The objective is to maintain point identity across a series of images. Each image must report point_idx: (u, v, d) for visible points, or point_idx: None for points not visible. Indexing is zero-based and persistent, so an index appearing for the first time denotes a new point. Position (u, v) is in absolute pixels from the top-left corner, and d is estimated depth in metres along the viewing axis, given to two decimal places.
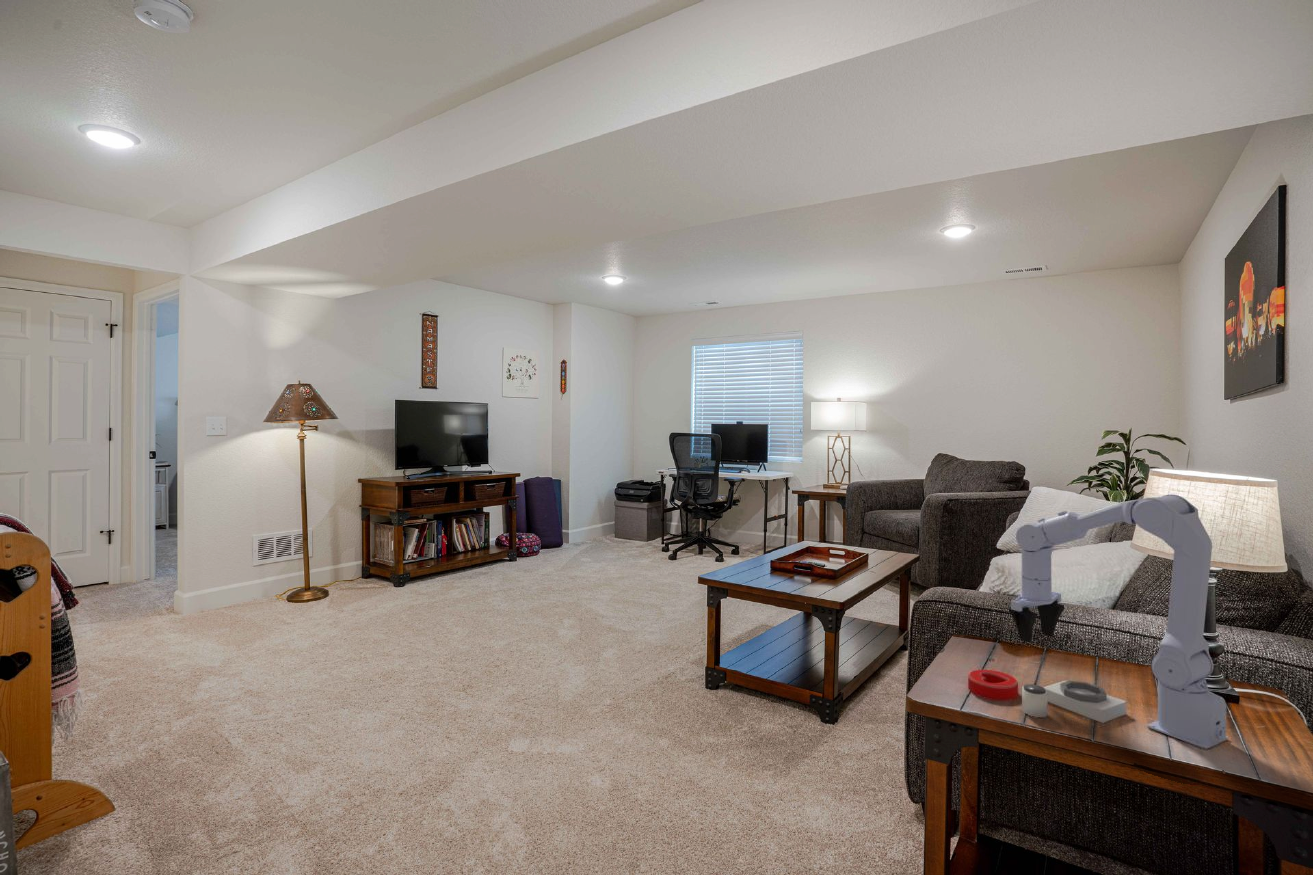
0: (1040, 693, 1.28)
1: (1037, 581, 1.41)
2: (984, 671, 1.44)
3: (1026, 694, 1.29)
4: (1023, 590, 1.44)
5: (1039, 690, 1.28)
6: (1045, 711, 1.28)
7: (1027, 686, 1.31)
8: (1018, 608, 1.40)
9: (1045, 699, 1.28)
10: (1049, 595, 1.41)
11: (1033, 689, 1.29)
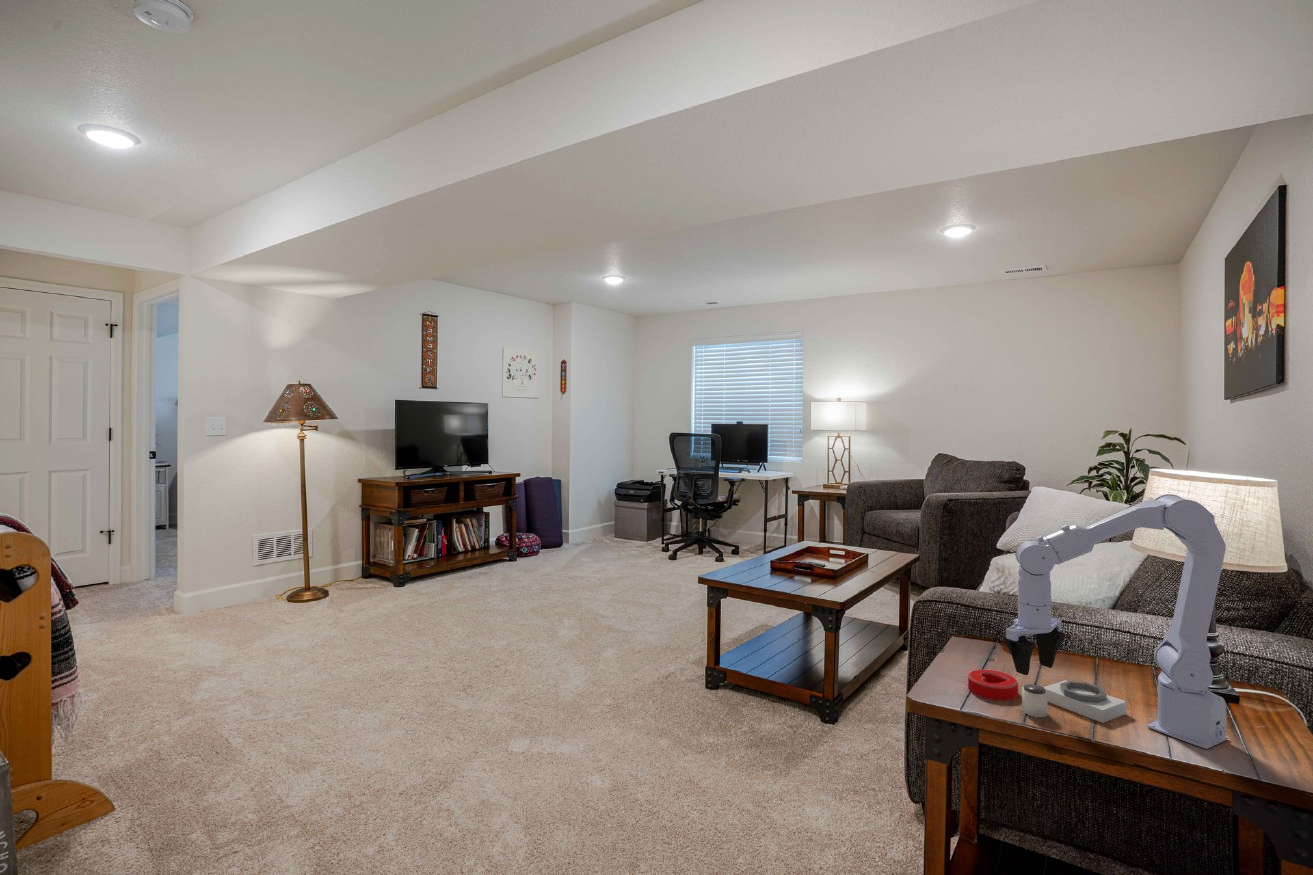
0: (1040, 693, 1.28)
1: (1035, 607, 1.27)
2: (984, 671, 1.44)
3: (1026, 694, 1.29)
4: (1019, 616, 1.29)
5: (1039, 690, 1.28)
6: (1045, 711, 1.28)
7: (1027, 686, 1.31)
8: (1014, 637, 1.25)
9: (1045, 699, 1.28)
10: (1048, 622, 1.27)
11: (1033, 689, 1.29)
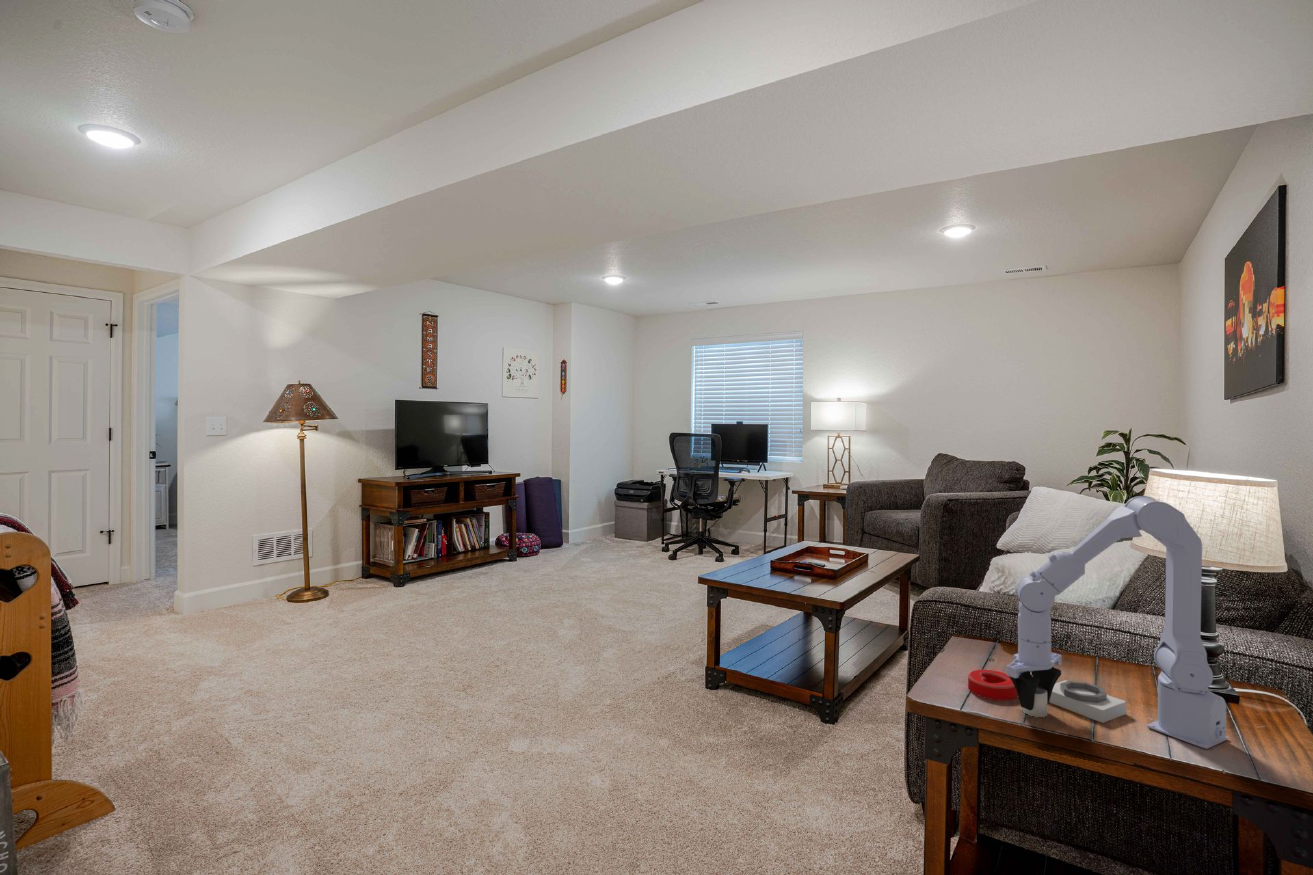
0: (1040, 693, 1.28)
1: (1035, 644, 1.27)
2: (984, 671, 1.44)
3: None
4: (1020, 652, 1.30)
5: (1039, 690, 1.28)
6: (1045, 711, 1.28)
7: None
8: (1014, 674, 1.26)
9: (1045, 699, 1.28)
10: (1048, 659, 1.27)
11: None
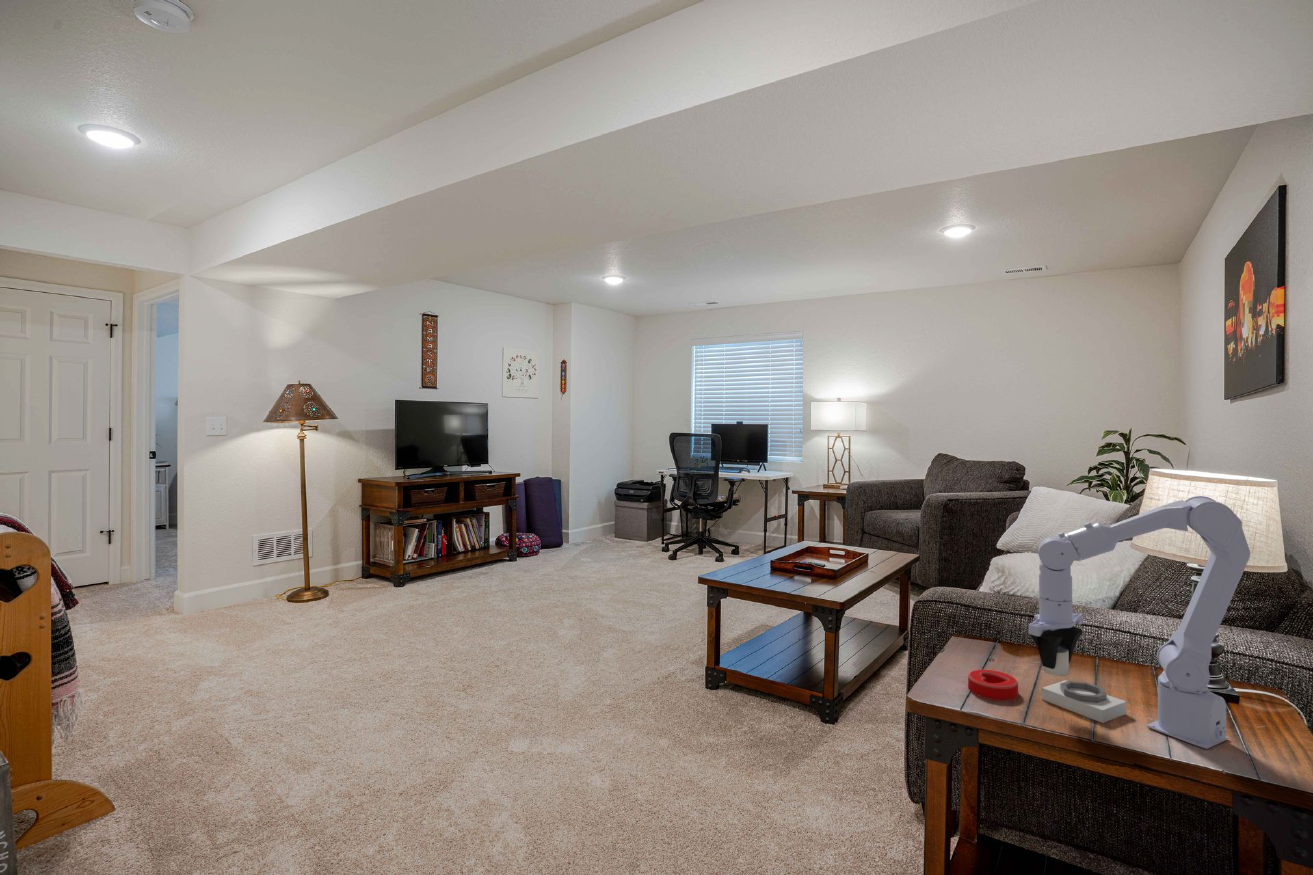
0: (1061, 652, 1.28)
1: (1057, 602, 1.28)
2: (984, 671, 1.44)
3: None
4: (1041, 612, 1.30)
5: (1060, 649, 1.29)
6: (1067, 669, 1.29)
7: None
8: (1037, 633, 1.26)
9: (1066, 657, 1.29)
10: (1070, 618, 1.28)
11: None
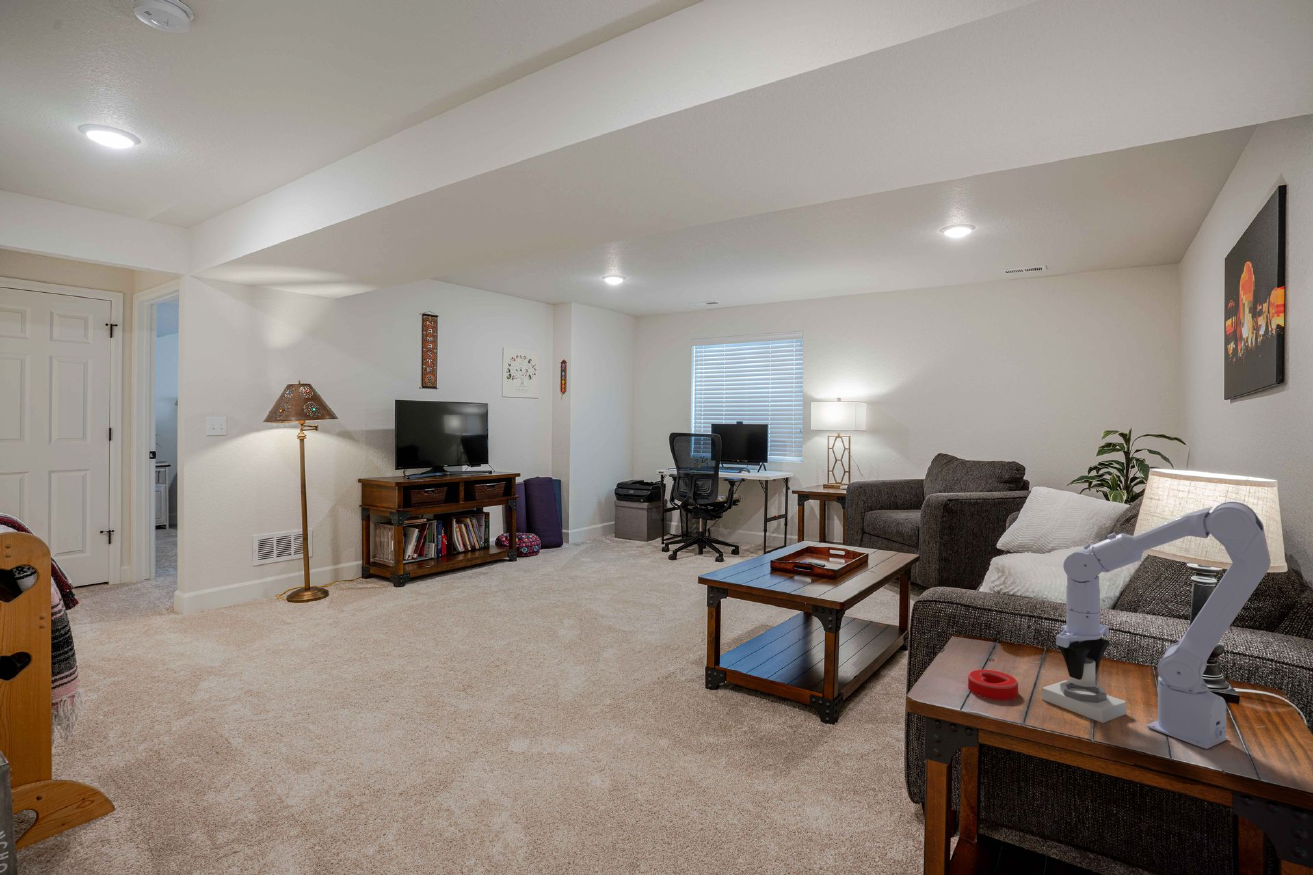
0: (1089, 662, 1.30)
1: (1085, 614, 1.29)
2: (984, 671, 1.44)
3: None
4: (1068, 623, 1.32)
5: (1087, 660, 1.31)
6: (1093, 680, 1.30)
7: None
8: (1064, 644, 1.28)
9: (1093, 668, 1.30)
10: (1098, 629, 1.29)
11: None
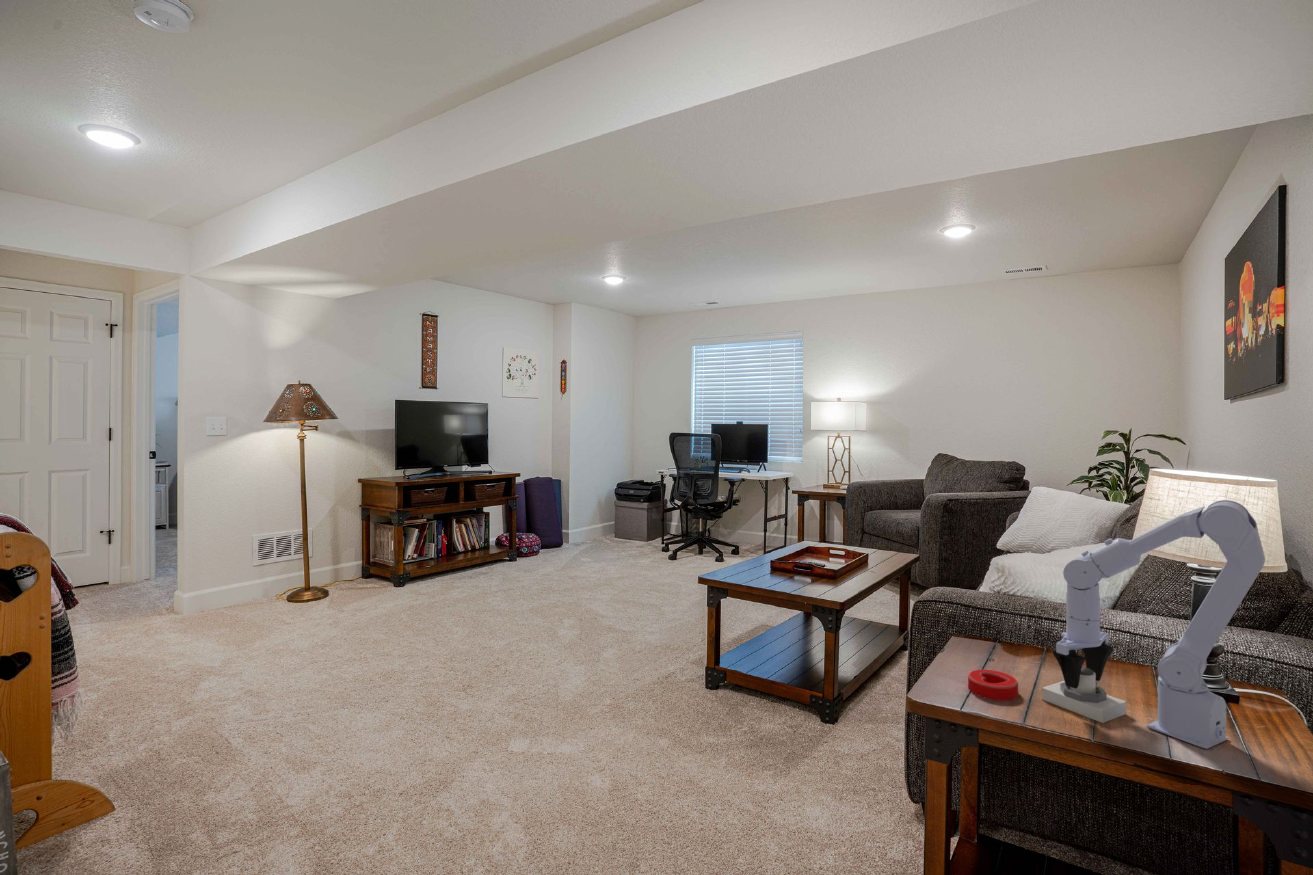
0: (1089, 674, 1.30)
1: (1085, 621, 1.29)
2: (984, 671, 1.44)
3: None
4: (1068, 630, 1.32)
5: (1087, 672, 1.31)
6: (1094, 692, 1.30)
7: None
8: (1064, 651, 1.28)
9: (1094, 680, 1.30)
10: (1098, 637, 1.29)
11: (1081, 671, 1.31)
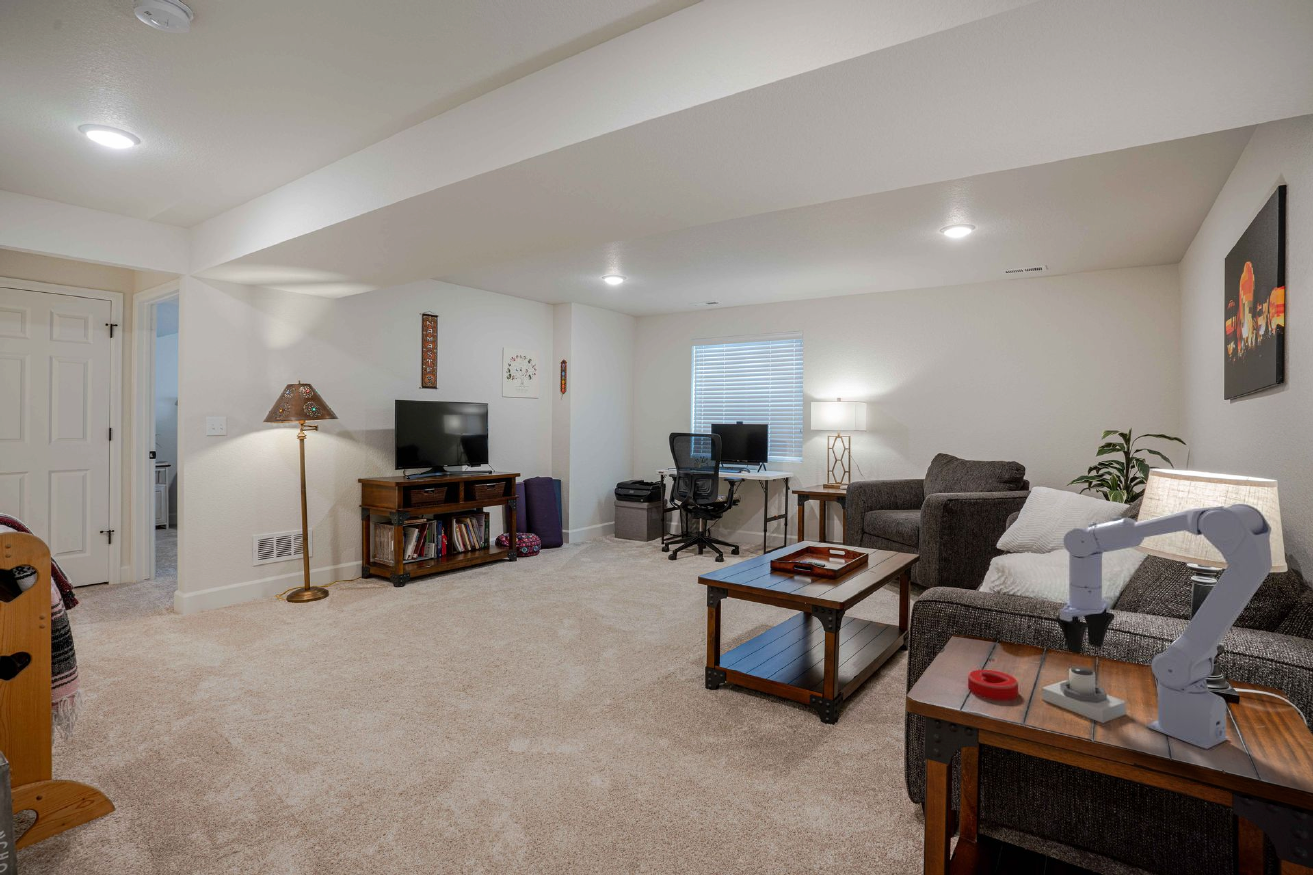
0: (1088, 674, 1.30)
1: (1087, 589, 1.32)
2: (984, 671, 1.44)
3: (1074, 676, 1.31)
4: (1071, 598, 1.35)
5: (1087, 672, 1.31)
6: (1094, 692, 1.30)
7: (1074, 668, 1.33)
8: (1068, 618, 1.31)
9: (1093, 680, 1.30)
10: (1100, 604, 1.33)
11: (1081, 670, 1.31)
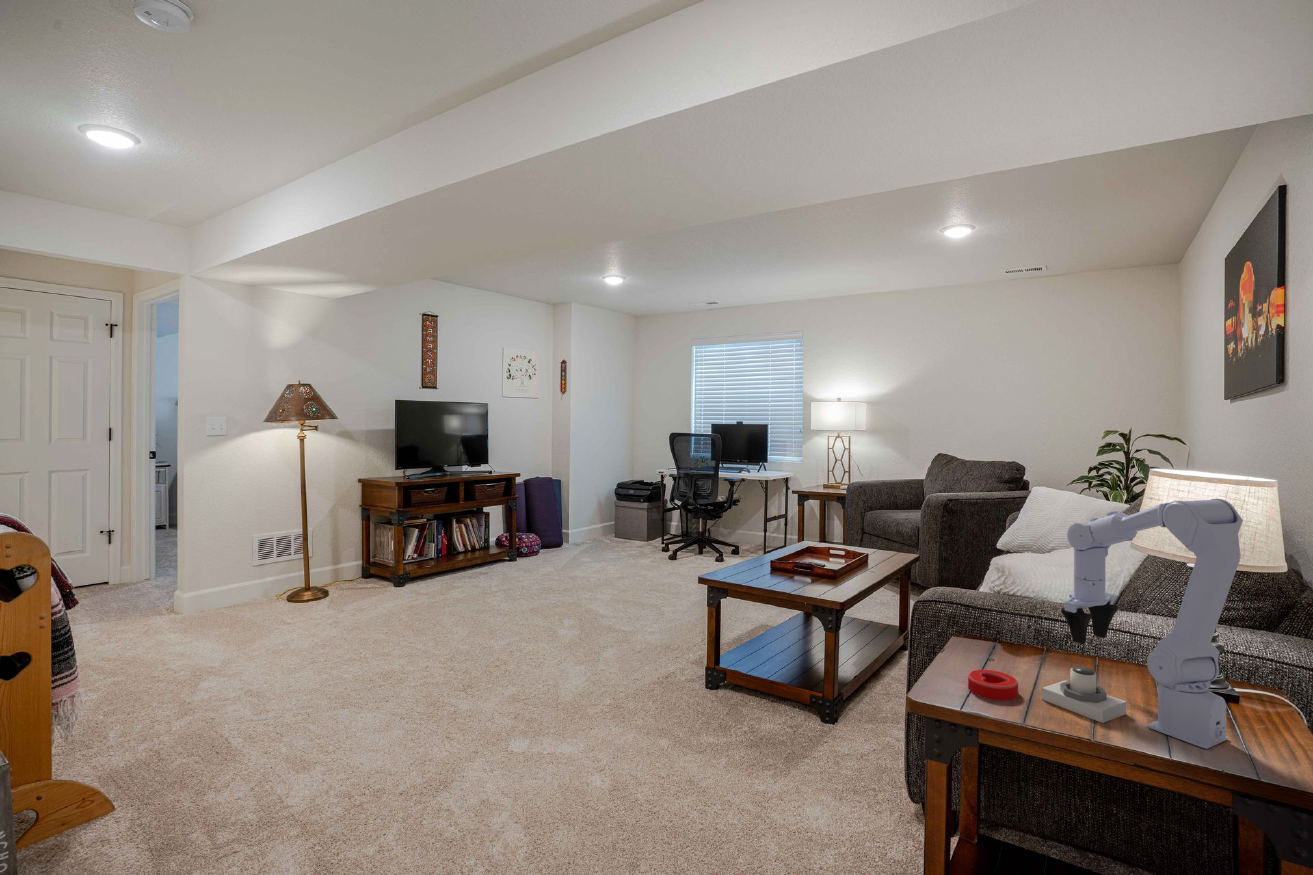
0: (1090, 674, 1.30)
1: (1091, 581, 1.38)
2: (984, 671, 1.44)
3: (1076, 676, 1.31)
4: (1076, 591, 1.41)
5: (1089, 672, 1.31)
6: (1094, 692, 1.30)
7: (1075, 668, 1.33)
8: (1072, 609, 1.37)
9: (1095, 680, 1.30)
10: (1103, 596, 1.38)
11: (1083, 670, 1.31)
